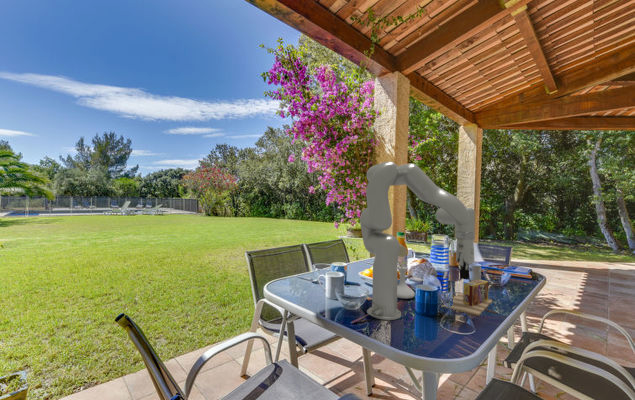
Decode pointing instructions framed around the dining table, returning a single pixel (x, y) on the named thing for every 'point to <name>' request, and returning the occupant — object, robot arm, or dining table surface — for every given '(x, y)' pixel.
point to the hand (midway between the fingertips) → (464, 278)
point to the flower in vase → (403, 278)
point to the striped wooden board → (468, 306)
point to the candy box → (475, 292)
